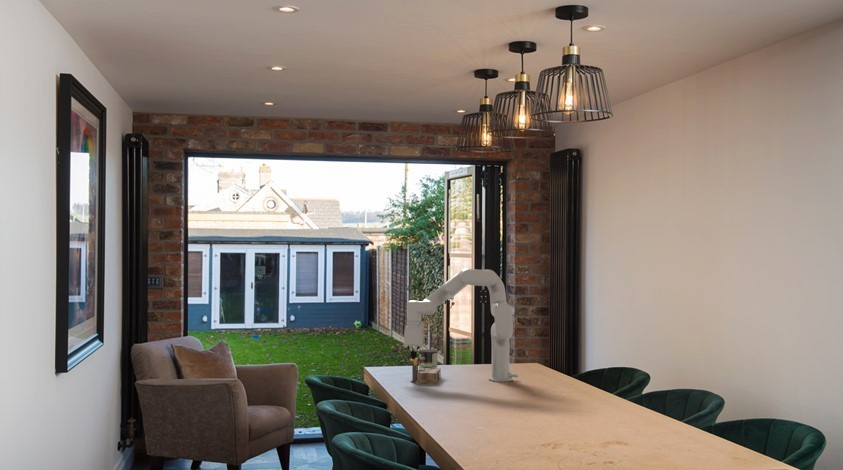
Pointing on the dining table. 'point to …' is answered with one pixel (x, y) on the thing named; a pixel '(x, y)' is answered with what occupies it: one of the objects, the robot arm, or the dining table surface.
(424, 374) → the block
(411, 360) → the plate
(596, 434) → the dining table surface
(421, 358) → the coffee can
